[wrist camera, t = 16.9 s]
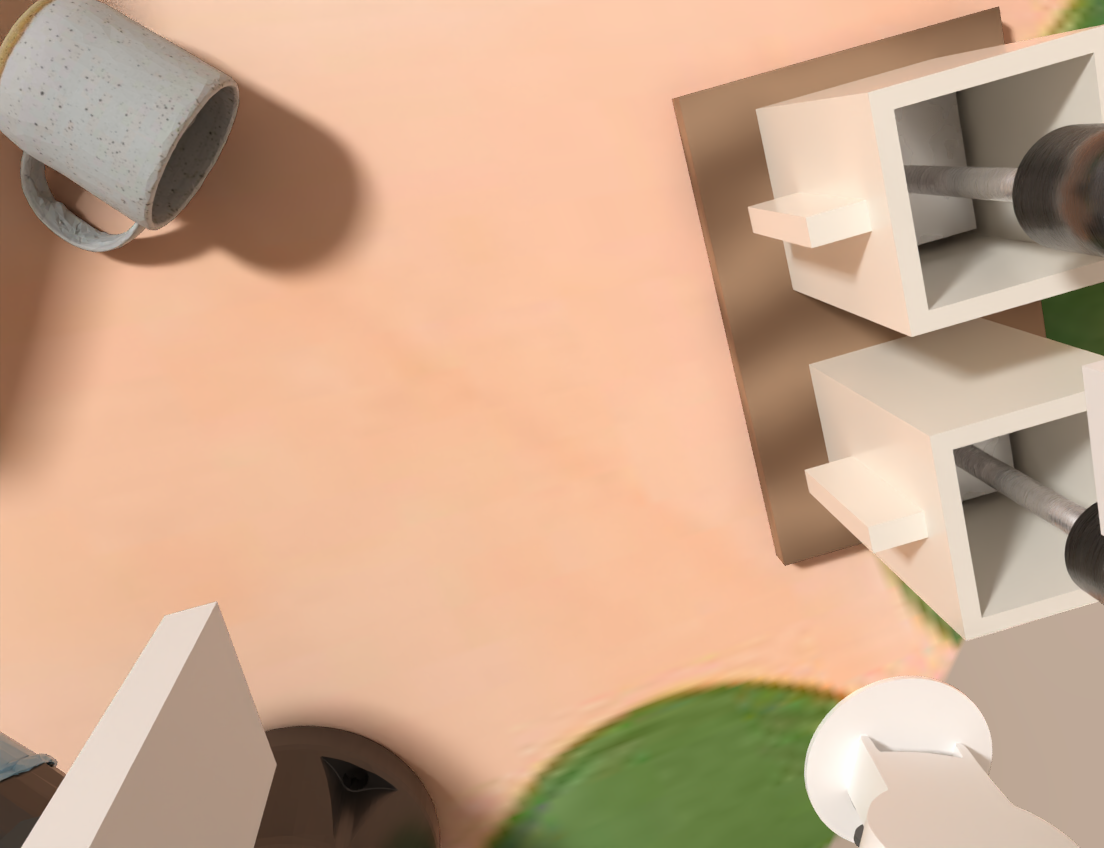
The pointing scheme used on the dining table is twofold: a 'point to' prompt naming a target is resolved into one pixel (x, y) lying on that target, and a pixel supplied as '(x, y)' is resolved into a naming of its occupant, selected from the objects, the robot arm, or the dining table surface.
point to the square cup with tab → (930, 473)
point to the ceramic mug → (109, 116)
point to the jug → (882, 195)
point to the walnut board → (764, 279)
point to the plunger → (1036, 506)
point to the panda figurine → (915, 773)
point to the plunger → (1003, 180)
